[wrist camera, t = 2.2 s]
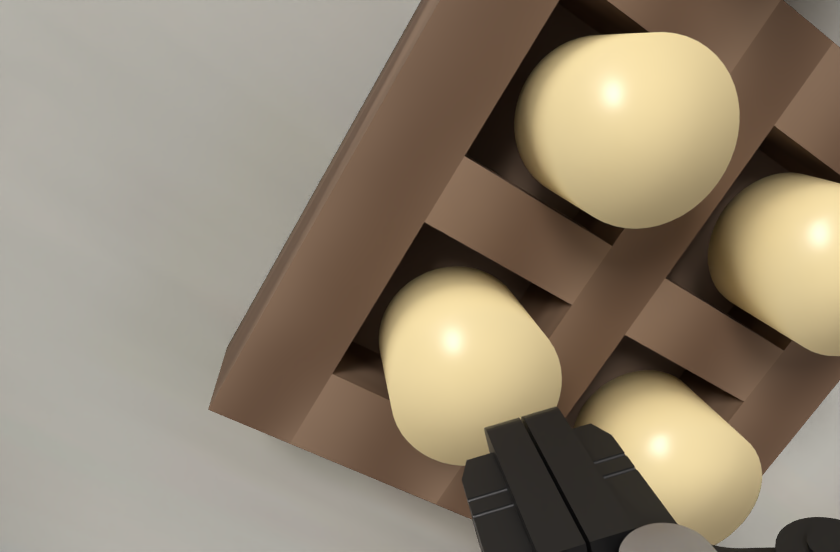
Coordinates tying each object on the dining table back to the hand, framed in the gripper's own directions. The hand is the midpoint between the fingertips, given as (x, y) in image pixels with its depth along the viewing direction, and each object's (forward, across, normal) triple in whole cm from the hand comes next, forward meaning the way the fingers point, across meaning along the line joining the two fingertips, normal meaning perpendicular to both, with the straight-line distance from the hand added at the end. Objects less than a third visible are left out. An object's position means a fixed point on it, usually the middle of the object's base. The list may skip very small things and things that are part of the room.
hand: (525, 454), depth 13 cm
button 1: (+6, 0, 0) cm, 6 cm away
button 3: (+6, -5, -5) cm, 9 cm away
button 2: (+6, -5, +5) cm, 9 cm away
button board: (+10, -4, 0) cm, 11 cm away
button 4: (+6, -10, 0) cm, 11 cm away
